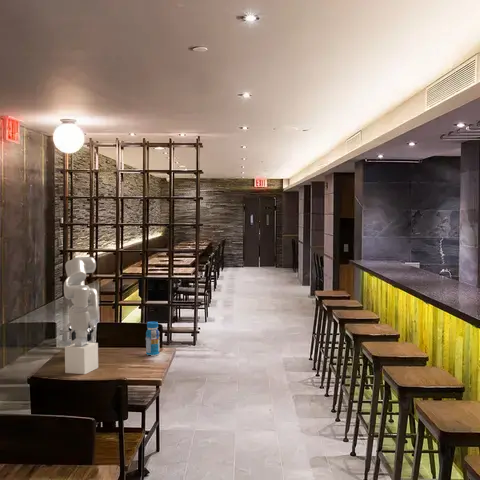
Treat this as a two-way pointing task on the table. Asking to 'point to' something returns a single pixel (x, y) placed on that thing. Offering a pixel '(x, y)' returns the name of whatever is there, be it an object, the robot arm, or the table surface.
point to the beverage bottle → (152, 339)
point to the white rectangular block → (81, 341)
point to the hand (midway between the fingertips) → (81, 340)
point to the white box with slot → (81, 358)
